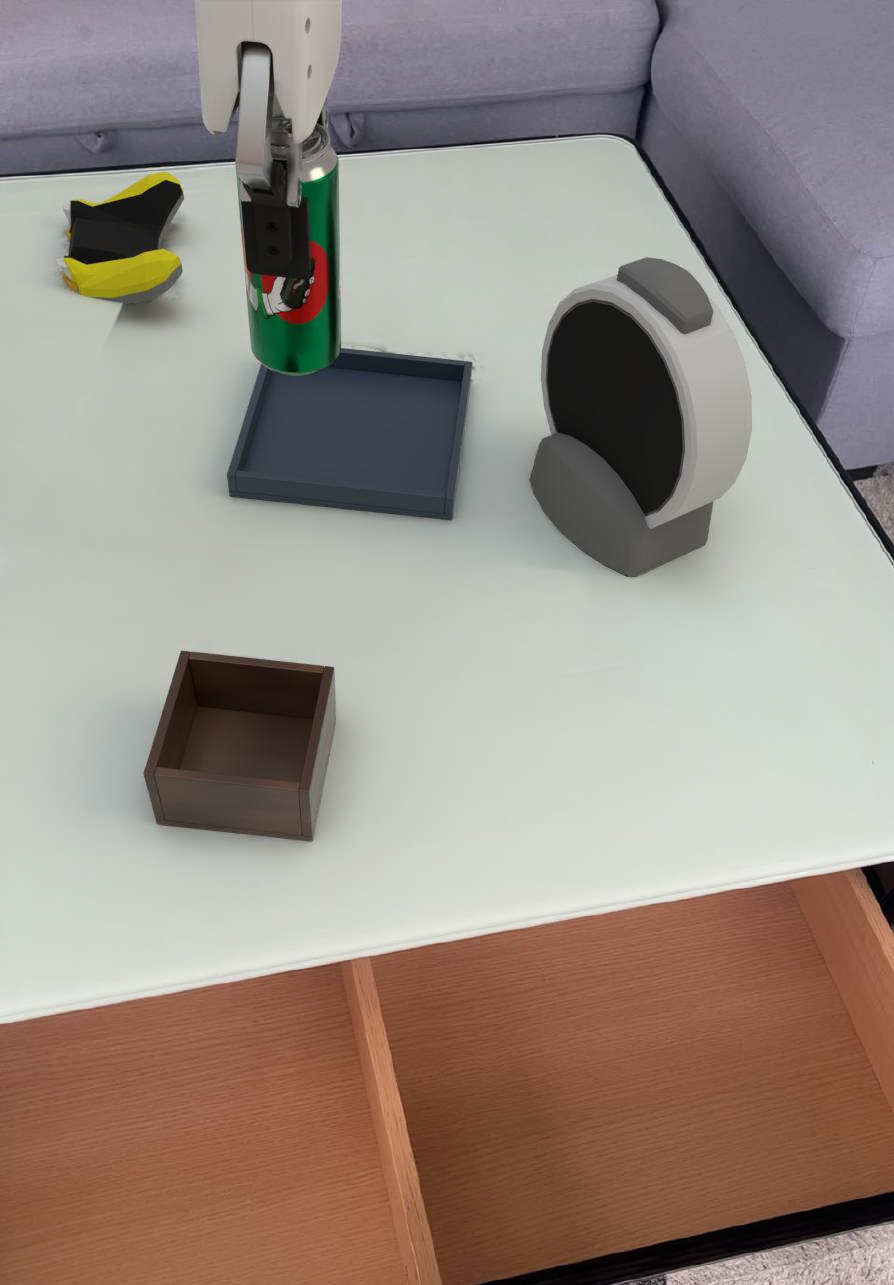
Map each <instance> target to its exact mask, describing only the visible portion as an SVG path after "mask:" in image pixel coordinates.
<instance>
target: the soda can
mask: <svg viewBox="0 0 894 1285" xmlns="http://www.w3.org/2000/svg"><path fill="white" fill-rule="evenodd" d="M272 127H280V128H290V119H289V118H285V117H284V116H274V117H272ZM331 143H332V139H331V136H330V133H329V131H328V129H327V130H326V129H325V128H324V127H323V126H321V125H319V124H318V123H316V125H315V127H314V129H313V132H312V133H311V135H310V136H309V137H308V138H306V139H305V140H304V141H303V143H302V197H308V198H309V224H310V251H311V271H310V274H309V276H308V278H307V279H305V280H300V279H292V278H283V277H275V276H267V275H259V274H253V273H251V272H250V271H249V270H248V269H247V266H246V255H245V243H244V231H243V219H242V207H241V198H240V179H239V177H238V176H237V173H236V172H235V174H236V175H235V176H236V185H237V186H236V187H237V197H238V198H237V199H238V210H239V221H240V223H239V224H240V234H241V245H242V246H241V247H242V257H243V258H242V259H243V270H244V281H245V290H246V291H245V292H246V306H247V316H248V328H249V339H250V349H251V353H252V354H253V355H254V357H255V359H256V360H258V362H260V364H261V363H262V364H263V365H264V366H266V367H267V368H268V369H270V370H271V371H273V372H276V373H278V374H281V375H286V376H294V377H300V376H309V375H313V374H316V373H319V372H321V371H323V370H324V369H326V368H327V367H328V366H329V365H331V364H332V363H333V362H334V361H335V359H336V358H337V357H338V355H339V353H340V351H341V348H342V298H341V297H342V296H341V295H342V293H341V292H342V290H341V289H342V288H341V285H342V284H341V226H340V224H341V223H340V220H341V218H340V216H341V215H340V163H339V162H340V161H339V157H338V154H337V153H336V151H335V149H334V148H333V146H332V145H331ZM270 148H271V155H272V157H273V161H275V162H281V164H282V166H283V168H284V170H285V172H286V167H287V147H282V146H273V145H270ZM234 163H235V166H236V156H235V158H234Z"/></svg>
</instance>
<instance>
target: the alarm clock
mask: <svg viewBox="0 0 894 1285" xmlns="http://www.w3.org/2000/svg"><path fill="white" fill-rule="evenodd" d="M544 336H545V337H544V341H543V345H542V350H541V362H540V363H541V364H540V366H541V367H540V383H541V384H540V385H541V391H542V402H543V409H544V412H545V416H546V420H547V424H548V427H549V432H550V435H548V436H545V437H543V438H541V440H540V442H539V444H538V447H537V450H536V454H535V458H534V461H533V464H532V467H531V468H532V469H531V472H530V476H529V482H530V486H531V489H532V492H533V495H534V496H535V498H536V500H537V502H538V503H539V505H540V507H541V509H542V510H543V512H544V513H545V515H546V516H547V517H548V519H549V520H550V521H551V522H552V524H554V526H555V527H556V528H557V529H558V530H559V532H560V533H561V534H562V535H564V536H565V537H566V538H567V539H568V540H569V541H570V542H571V543H573V544H574V545H575V546H576V547H577V548H579V549H580V550H581V551H582V552H583V553H585V554H587V555H588V556H590V557H592V558H593V559H594V560H596V561H598V562H599V563H600V564H602V565H604V566H606V567H607V568H609V569H611V570H614V571H616V572H617V573H619V574H622V575H623V576H626V577H636V578H637V577H639V576H642V575H644V574H645V573H647V572H650V571H652V570H654V569H656V568H658V567H661V566H662V565H664V564H667V563H669V562H672V561H673V560H676V559H678V558H680V557H683V556H685V555H687V554H689V553H691V552H693V551H695V550H697V549H699V548H701V547H704V546H705V545H706V544H707V542H708V539H709V533H710V526H711V519H712V514H713V508H714V503H715V501H717V500H720V499H721V498H722V497H723V496H724V495H725V494H726V493H727V492H728V491H729V489H731V487H732V486H733V485H734V484H735V483H737V482H736V481H737V479H738V478H739V475H740V473H741V472H742V469H743V467H744V465H745V463H746V460H747V458H748V451H749V446H750V443H751V442H750V441H751V437H752V432H753V400H752V399H753V398H752V396H753V395H752V389H751V385H750V380H749V374H748V370H747V364H746V361H745V358H744V355H743V352H742V350H741V348H740V345H739V342H738V340H737V337H736V334H735V332H734V329H733V328H732V326H731V325H730V323H729V322H728V320H727V319H726V316H724V314H723V312H722V310H721V309H720V307H719V306H718V304H717V303H716V301H715V300H714V299H713V298H712V297H711V296H710V295H709V294H708V293H707V292H706V291H705V289H704V288H703V286H702V285H701V284H700V282H699V281H698V279H696V277H694V276H693V275H692V273H691V272H690V271H689V270H687V269H686V268H684V267H682V266H680V265H678V264H676V263H675V262H671V261H668V260H666V259H663V258H656V257H647V256H646V257H643V258H640V259H637V260H634V261H631V262H628V263H625V264H623V265H620V266H619V267H618V271H617V274H614V275H612V276H609V277H605V278H603V279H599V280H597V281H594V282H591V283H588V284H585V285H583V286H580V287H576V288H574V289H573V290H572V291H571V292H570V293H568V294H567V295H566V296H565V297H563V299H562V300H561V301H559V302H558V304H557V306H556V308H555V310H554V312H553V314H552V316H551V318H550V319H549V322H548V324H547V328H546V333H545V335H544Z"/></svg>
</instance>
